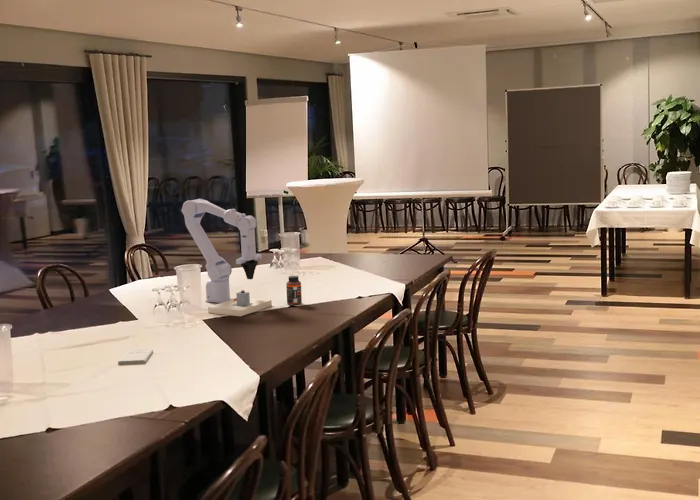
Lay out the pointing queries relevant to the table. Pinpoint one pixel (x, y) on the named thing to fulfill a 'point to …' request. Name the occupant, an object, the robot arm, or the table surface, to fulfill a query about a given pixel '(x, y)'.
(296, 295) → the supplement bottle
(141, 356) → the external hard drive
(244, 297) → the plug
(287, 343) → the table surface
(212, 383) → the table surface
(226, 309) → the socket plate
